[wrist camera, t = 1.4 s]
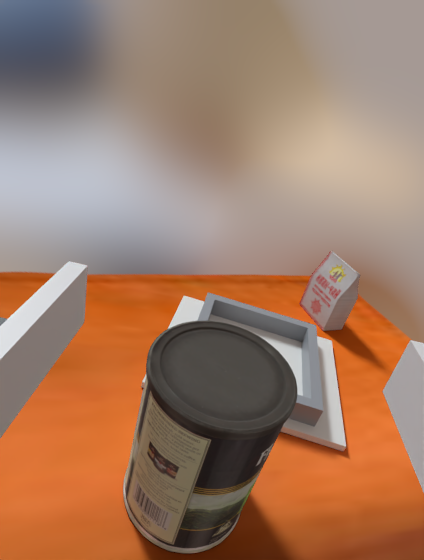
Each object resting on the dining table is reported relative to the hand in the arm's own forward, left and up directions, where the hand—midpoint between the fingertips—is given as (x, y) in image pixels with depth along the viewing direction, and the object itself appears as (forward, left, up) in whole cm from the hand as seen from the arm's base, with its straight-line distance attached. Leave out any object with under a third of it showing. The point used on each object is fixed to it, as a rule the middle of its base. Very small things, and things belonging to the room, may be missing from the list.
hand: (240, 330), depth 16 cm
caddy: (+4, +25, -23) cm, 34 cm away
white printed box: (+14, +41, -23) cm, 49 cm away
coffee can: (0, +7, -23) cm, 24 cm away
